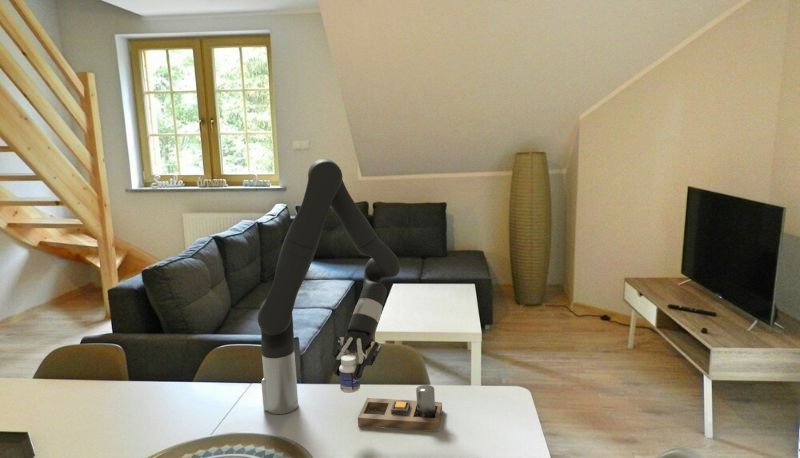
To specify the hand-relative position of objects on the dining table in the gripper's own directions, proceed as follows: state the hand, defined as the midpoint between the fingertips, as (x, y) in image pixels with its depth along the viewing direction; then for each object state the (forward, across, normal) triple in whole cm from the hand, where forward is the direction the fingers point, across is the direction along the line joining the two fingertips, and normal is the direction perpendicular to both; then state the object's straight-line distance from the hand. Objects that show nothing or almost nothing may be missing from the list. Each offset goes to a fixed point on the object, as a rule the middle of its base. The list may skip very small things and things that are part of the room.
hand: (346, 376), depth 141 cm
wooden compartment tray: (+3, +10, +20) cm, 22 cm away
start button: (+1, +10, +18) cm, 20 cm away
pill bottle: (+2, 0, +4) cm, 5 cm away
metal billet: (+2, +16, +22) cm, 27 cm away
